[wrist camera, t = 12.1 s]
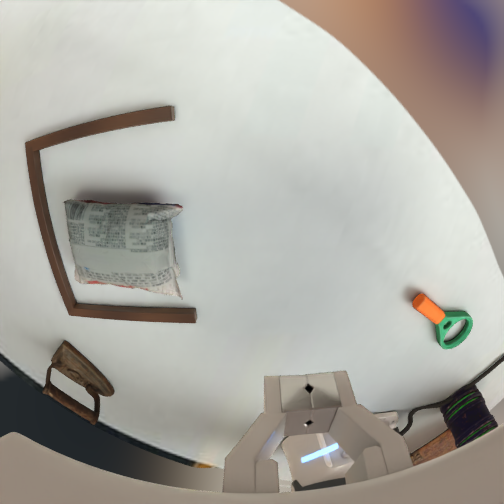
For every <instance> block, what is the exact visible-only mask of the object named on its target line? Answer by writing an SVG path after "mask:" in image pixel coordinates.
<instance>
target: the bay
mask: <svg viewBox="0 0 504 504" xmlns="http://www.w3.org/2000/svg"><path fill="white" fill-rule="evenodd" d="M174 120H175V113H174V107H173V106H166V107H159V108H153V109H147V110H141V111H136V112H130V113H125V114H121V115H116V116H111V117H107V118H103V119H99V120H95V121H91V122H87V123H83V124H80V125H76V126H73V127H69V128H66V129H63V130H60V131H57V132H53V133H50V134H48V135H45V136H42V137H39V138H36V139H33V140H31V141H28V142H26V143H25V147H26V156H27V165H28V172H29V178H30V185H31V190H32V196H33V201H34V206H35V210H36V215H37V219H38V223H39V227H40V231H41V235H42V239H43V242H44V246H45V249H46V253H47V256H48V259H49V262H50V265H51V268H52V271H53V274H54V277H55V280H56V283H57V285H58V288H59V291H60V293H61V296H62V298H63V301H64V303H65V306H66V308H67V311H68V313H69V315H71V316H80V317H90V318H102V319H114V320H129V321H147V322H171V323H196V320H197V314H196V309H195V308H149V307H124V306H105V305H90V304H77V303H76V301H75V298H74V295H73V293H72V290H71V287H70V284H69V281H68V278H67V275H66V272H65V269H64V266H63V263H62V260H61V257H60V253H59V250H58V246H57V243H56V239H55V235H54V231H53V227H52V223H51V219H50V215H49V210H48V205H47V200H46V195H45V190H44V184H43V177H42V171H41V163H40V155H39V150H41V149H44V148H47V147H50V146H53V145H57V144H60V143H64V142H67V141H71V140H74V139H78V138H82V137H86V136H90V135H94V134H99V133H103V132H108V131H113V130H118V129H123V128H128V127H134V126H140V125H146V124H152V123H159V122H166V121H174Z"/></svg>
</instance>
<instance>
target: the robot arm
mask: <svg viewBox="0 0 504 504" xmlns="http://www.w3.org/2000/svg"><path fill="white" fill-rule="evenodd" d="M503 361H504V356H503V357H502V358H501V359H499V360H498V361H497V362H496V363H495V364H493V365H492V366H491V367H490V368H489V369H488V370H486V371H485V372H484V373H483V374H481V375H480V376H479V377H478V378H476V379H475V380H474V381H472V382H471V383H470V384H469V385H467V386H466V387H465V390H468V389H470V388H471V387H472V386H473V385H475V384H476V383H477V382H479V381H480V380H481V379H482V378H484V377H485V376H486V375H487V374H489V373H490V372H491V371H492V370H493V369H494V368H496V367H497V366H498V365H499V364H500V363H501V362H503ZM452 400H453V398H452V397H451V398H449V399H447V400H445V401H443V402H440V403H435V404H430V405H426V406H421V407H418V408H415V409H413V410H412V411H411V412H410V413H409V415H408V424H407V426H406V427H405V428H404V429H403V430H402V431H401V432H399V429H398V427H396V428H395V426H396V425H397V422H398V414H397V412H387V413H379V414H372V413H371V412H370V411H369V410H367V409H366V408H365V407H364V406H362V405H361V404H358V405H357V403H356V400H355V396H354V393H353V390H352V387H351V383H350V380H349V377H348V374H347V372H346V371H338V372H326V373H316V374H305V375H287V376H264V413H261V414H260V415H259V417H258V418H257V419H256V421H255V422H254V423H253V424H252V426H251V427H250V428H249V430H248V431H247V432H246V433H245V435H244V436H243V437H242V438H241V440H240V441H239V442H238V443H237V445H236V446H235V447H234V448H233V449H232V451H231V452H230V453H229V454H228V455H227V457H226V458H225V466H224V479H223V492H210V491H200V490H191V489H183V488H177V487H171V486H165V485H159V484H155V483H149V482H145V481H141V480H137V479H132V478H128V477H125V476H121V475H118V474H114V473H111V472H108V471H104V470H101V469H98V468H95V467H92V466H89V465H87V464H84V463H81V462H79V461H76V460H74V459H71V458H69V457H66V456H64V455H62V454H59V453H57V452H55V451H53V450H50V449H48V448H46V447H44V446H42V445H40V444H38V443H36V442H34V441H32V440H30V439H28V438H26V437H25V436H23V435H21V434H19V433H16V432H12V433H9V434H7V435H5V436H3V437H1V438H0V504H504V423H503V424H502V425H500V426H498V427H497V428H495V429H493V430H492V431H490V432H488V433H487V434H485V435H483V436H481V437H479V438H477V439H476V440H474V441H472V442H470V443H468V444H466V445H464V446H462V447H460V448H458V449H455V450H453V451H451V452H449V453H447V454H444V455H442V456H440V457H437V458H435V459H432V460H430V461H427V462H424V463H422V464H419V465H416V466H413V463H412V460H411V457H410V454H409V451H408V448H407V445H406V442H405V439H404V437H402V436H403V435H404V434H405V433H406V432H407V431H408V430H409V429H410V427H411V426H412V423H413V414H414V413H415V412H417V411H419V410H421V409H427V408H437V407H441V406H444V405H446V404H448V403H450V402H451V401H452ZM283 436H289V437H287V438H286V439H285V440H284V441H283V442H282V445H281V446H282V449H283V451H284V453H285V456H286V458H287V461H288V464H289V468H290V472H291V476H292V481H293V482H292V486H291V492H282V493H279V477H278V462H276V461H275V460H273V459H270V458H271V456H272V454H273V453H274V451H275V450H276V448H277V447H278V445H279V443H280V442H281V440H282V439H283Z"/></svg>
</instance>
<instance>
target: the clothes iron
mask: <svg viewBox="0 0 504 504" xmlns="http://www.w3.org/2000/svg"><path fill="white" fill-rule="evenodd" d="M51 361H52V364H51V365H50V366H49V368H48V370H47V376H46V384H45V386H44V389H43V393H44V394H48V395H49V396H51V397H52V398H54V399H55V400H57V401H58V402H60V403H61V404H63V405H64V406H66V407H68V408H69V409H71V410H72V411H74V412H76V413H77V414H79V415H80V416H82V417H84V418H85V419H87V420H89V421H90V422H91V424H93V425H95V424H96V422H97V420H98V417H99V412H100V397H99V395H98V394H100V395H102V396H106V397H108V396H112V395H113V394H114V389H113V387H112V386H111V384H110V383H109V382H108V380H107V379H106V378H105V377H104V376H103V374H102V373H101V372H100V371H99V370H98V369H97V368H96V367H95V366H94V365H93V364H92V363H91V362H89V361H88V360H87V359H86V358H85V357H84V356H83V355H82V354H81V353H80V352H79V351H77V350H76V349H75V348H74V347H73V346H72V345H71V344H69V343H68V342H67V341H64V342H63V343H62V344H61V346H60V347H59V348H58V350H57V351H56V353H55V354H54V356H53V357H52V360H51ZM51 368H55V369H57V370H58V371H59V372H61V373H62V374H64V375H65V376H67V377H68V378H70V379H71V380H73V381H74V382H76V383H78V384H79V385H81V386H83V387H85V388H86V391H87V392H88V393H89V394H90V395H91V396H92V397H93V398H94V402H95V406H94V411H92V410H91V409H89V408H87V407H86V406H84V405H82V404H81V403H79V402H78V401H76V400H74V399H73V398H72V397H70V396H68V395H67V394H65V393H64V392H63V391H61V390H60V389H58V388H57V387H55V386H54V385H53V384H52V383H51V381H50V376H51Z"/></svg>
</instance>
